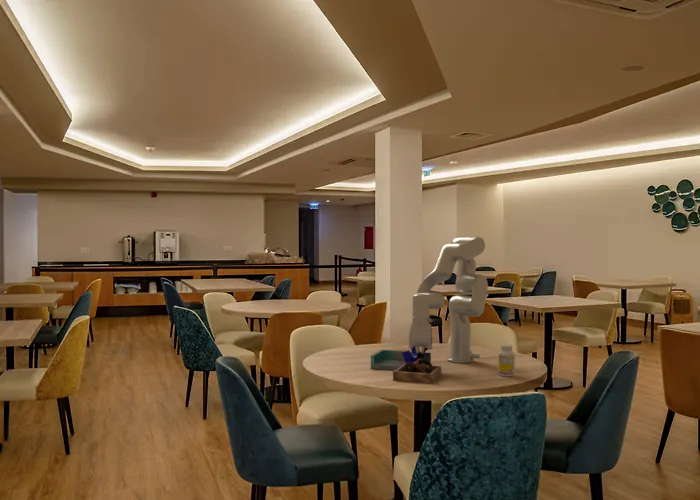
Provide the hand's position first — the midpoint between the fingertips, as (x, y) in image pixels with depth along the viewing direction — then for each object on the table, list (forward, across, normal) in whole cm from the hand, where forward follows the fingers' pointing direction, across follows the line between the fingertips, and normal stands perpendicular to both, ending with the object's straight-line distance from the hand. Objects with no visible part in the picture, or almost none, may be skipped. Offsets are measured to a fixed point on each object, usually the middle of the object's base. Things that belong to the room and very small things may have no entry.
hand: (420, 361), depth 275 cm
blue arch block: (+1, +3, 0) cm, 3 cm away
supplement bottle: (+3, -38, +2) cm, 38 cm away
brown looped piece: (+4, -2, +15) cm, 16 cm away
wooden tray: (+3, -3, +18) cm, 18 cm away
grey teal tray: (+3, +9, -1) cm, 10 cm away
